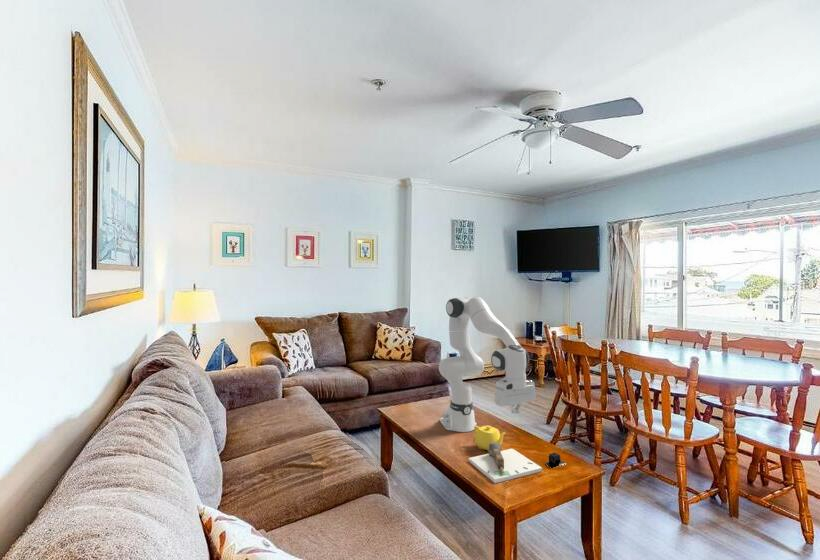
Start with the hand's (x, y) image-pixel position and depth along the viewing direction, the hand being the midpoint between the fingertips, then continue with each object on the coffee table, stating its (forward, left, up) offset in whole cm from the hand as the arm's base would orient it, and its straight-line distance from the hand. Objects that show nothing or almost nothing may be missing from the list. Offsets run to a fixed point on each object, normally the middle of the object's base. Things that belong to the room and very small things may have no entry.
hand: (515, 412), depth 172 cm
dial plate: (+1, -7, -22) cm, 23 cm away
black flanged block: (+8, +15, -23) cm, 29 cm away
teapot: (-16, -3, -22) cm, 28 cm away
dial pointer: (+1, -10, -20) cm, 22 cm away
